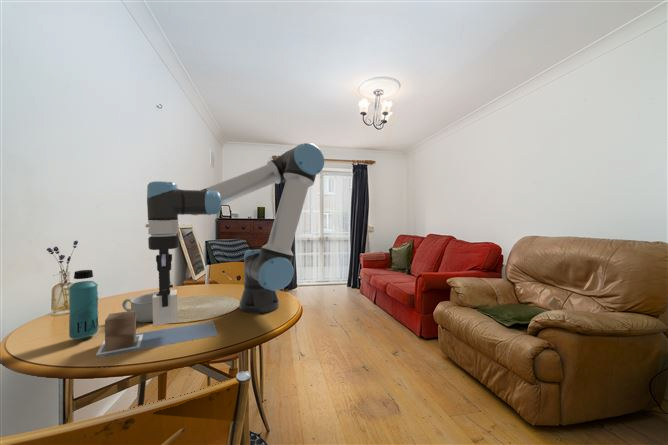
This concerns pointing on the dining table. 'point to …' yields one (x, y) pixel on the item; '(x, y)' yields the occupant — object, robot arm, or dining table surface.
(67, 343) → the dining table surface
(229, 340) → the dining table surface
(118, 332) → the walnut block
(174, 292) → the cream block
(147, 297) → the teacup
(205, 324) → the plan sheet
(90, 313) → the beverage bottle
